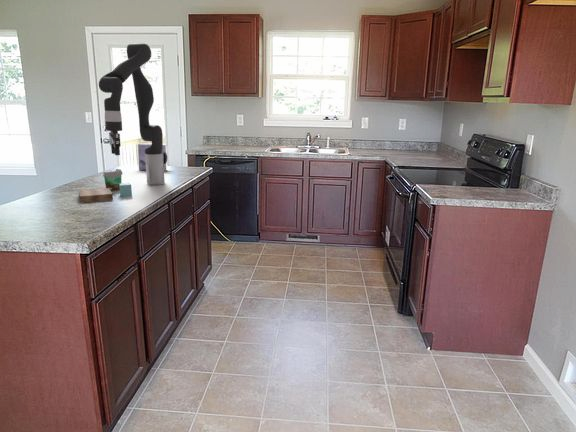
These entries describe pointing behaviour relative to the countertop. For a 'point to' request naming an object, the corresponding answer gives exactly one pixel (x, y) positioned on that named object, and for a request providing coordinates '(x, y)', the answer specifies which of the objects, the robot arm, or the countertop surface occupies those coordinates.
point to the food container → (113, 179)
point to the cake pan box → (142, 156)
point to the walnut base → (95, 195)
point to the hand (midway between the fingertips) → (115, 154)
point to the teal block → (125, 189)
